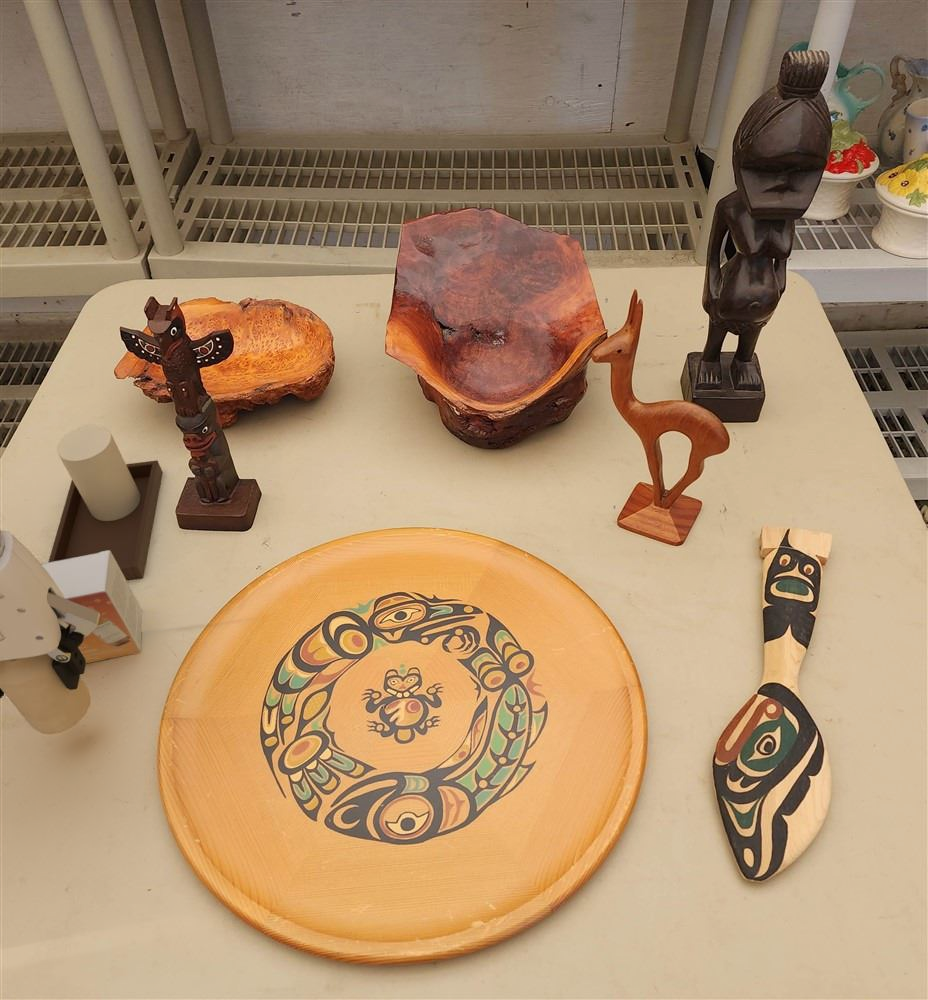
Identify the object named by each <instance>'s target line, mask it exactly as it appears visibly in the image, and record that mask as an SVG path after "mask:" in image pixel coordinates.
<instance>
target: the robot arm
mask: <svg viewBox="0 0 928 1000" xmlns="http://www.w3.org/2000/svg"><path fill="white" fill-rule="evenodd" d="M41 564H42V563H41V562H40V561H39V559H38V558H37V557H36V556H35V555H34V554H33V553H32V552H31V551H30V550H29V548H27V547H26V546H25V545H24V544H23V543H22V542H21V541H20V540H19V539H18V538H17V537H15V535H13V534H12V533H11V532H10V531H8V530H1V529H0V661H2V660H11V659H19V658H26V657H33V656H39V655H43V654H47V655H49V656H50V657H52V658H53V662H52V667H53V669H54V670H55V672H56V673H57V675H58V676H59V678H60V679H61V680H62V682H63V683H64V685H65V686H66V688H67V689H69V690H74V689H77V687H78V683H79V678H80V677H81V675H84V674H85V671H86V666H87V663H86V661H85V658H84V656H83V655H82V653H81V651H80V650H79V648H78V647H79V646H80V645H81V643H82V642H83V639H84V638H85V637H86V636H88V635H89V634H91V633H92V632H93V631H94V630H95V629H96V628H97V626H98V622H99V617H100V613H99V612H98V611H95V610H93V609H90V608H88V607H85V606H83V605H80V604H77V603H75V602H72V601H70V600H67V599H65V598H64V596H63V594H62V592H61V591H60V589H59V588H58V586H57V585H56V583H55V582H54V580H53V579H52V577H51V576H50V575H49V573H48V572H47V571H46V570H45V568H44V567H43V566H42V565H41ZM65 622H67V623H69V625H68V624H67V623H65ZM4 695H5V693H4V692H3V691H2V690H1V688H0V699H2V697H4Z"/></svg>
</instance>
